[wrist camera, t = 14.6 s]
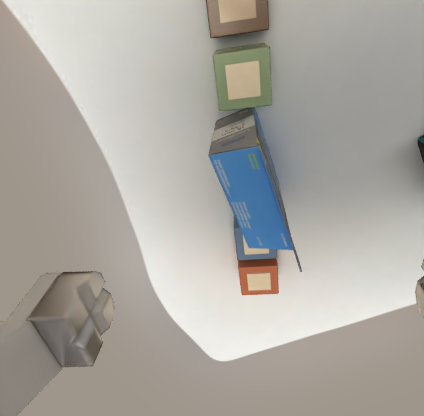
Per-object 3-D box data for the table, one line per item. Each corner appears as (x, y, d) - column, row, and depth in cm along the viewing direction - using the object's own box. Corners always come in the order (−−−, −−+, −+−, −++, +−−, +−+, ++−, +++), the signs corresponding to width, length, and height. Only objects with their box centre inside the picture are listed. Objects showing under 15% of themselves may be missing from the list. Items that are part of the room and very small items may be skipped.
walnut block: (207, -26, 23) (201, -35, 19) (261, -36, 22) (266, -47, 19) (214, 36, 25) (210, 38, 21) (264, 28, 24) (269, 29, 21)
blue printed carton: (213, 119, 28) (198, 179, 18) (254, 103, 27) (264, 156, 17) (244, 199, 32) (248, 286, 22) (281, 188, 31) (303, 273, 21)
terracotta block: (238, 244, 35) (238, 268, 32) (273, 241, 35) (277, 266, 31) (241, 270, 37) (241, 296, 34) (274, 268, 37) (278, 294, 33)
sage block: (215, 49, 25) (212, 54, 22) (265, 42, 25) (269, 46, 21) (221, 100, 27) (219, 112, 24) (267, 94, 27) (272, 105, 23)
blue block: (234, 206, 33) (233, 229, 29) (272, 203, 32) (276, 226, 29) (237, 237, 35) (237, 261, 31) (273, 234, 34) (277, 259, 31)
